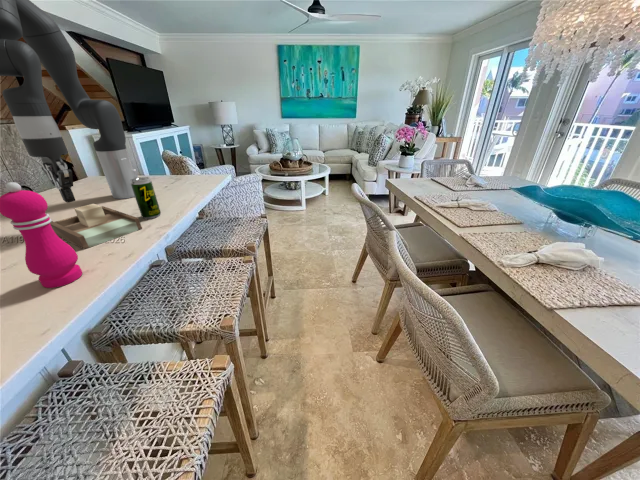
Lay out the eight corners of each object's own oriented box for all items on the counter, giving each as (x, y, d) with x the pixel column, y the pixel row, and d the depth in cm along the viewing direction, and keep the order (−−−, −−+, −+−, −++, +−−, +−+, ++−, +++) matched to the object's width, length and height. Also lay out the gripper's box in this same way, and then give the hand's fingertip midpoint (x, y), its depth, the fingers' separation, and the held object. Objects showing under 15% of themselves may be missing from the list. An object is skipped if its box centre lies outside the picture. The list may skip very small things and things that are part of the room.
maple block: (99, 218, 76) (93, 203, 74) (107, 221, 74) (101, 206, 72) (81, 223, 73) (74, 208, 71) (88, 227, 71) (81, 211, 69)
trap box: (106, 215, 85) (102, 206, 83) (142, 228, 76) (138, 218, 74) (50, 232, 74) (45, 221, 72) (84, 249, 65) (78, 237, 63)
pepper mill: (58, 270, 57) (8, 177, 48) (94, 268, 57) (50, 176, 48) (28, 291, 50) (-37, 188, 41) (68, 288, 51) (13, 187, 42)
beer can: (138, 218, 83) (125, 180, 77) (152, 212, 87) (141, 176, 82) (151, 220, 81) (139, 181, 76) (165, 214, 86) (154, 177, 80)
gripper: (71, 136, 67) (96, 201, 74) (50, 133, 73) (76, 194, 81) (30, 138, 61) (63, 209, 69) (12, 135, 67) (43, 201, 75)
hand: (70, 201), depth 75 cm, fingers closed
